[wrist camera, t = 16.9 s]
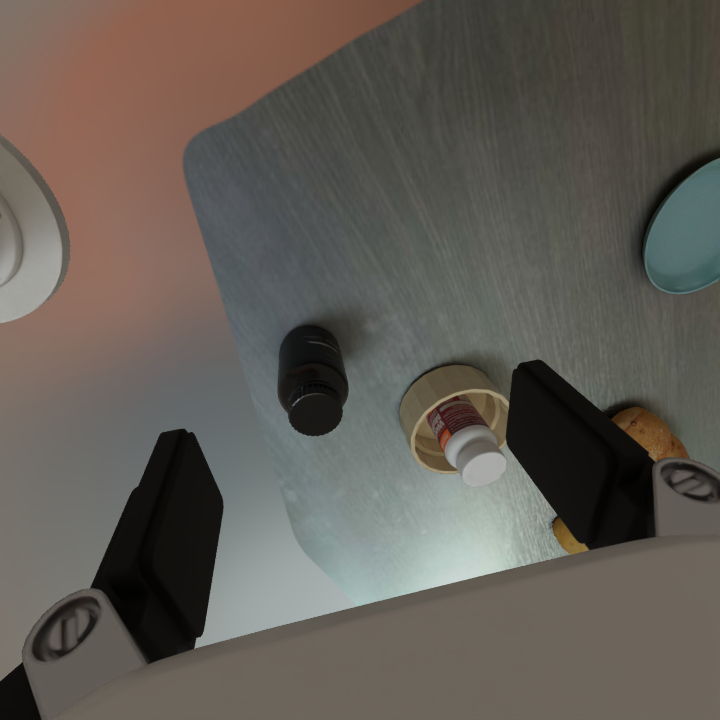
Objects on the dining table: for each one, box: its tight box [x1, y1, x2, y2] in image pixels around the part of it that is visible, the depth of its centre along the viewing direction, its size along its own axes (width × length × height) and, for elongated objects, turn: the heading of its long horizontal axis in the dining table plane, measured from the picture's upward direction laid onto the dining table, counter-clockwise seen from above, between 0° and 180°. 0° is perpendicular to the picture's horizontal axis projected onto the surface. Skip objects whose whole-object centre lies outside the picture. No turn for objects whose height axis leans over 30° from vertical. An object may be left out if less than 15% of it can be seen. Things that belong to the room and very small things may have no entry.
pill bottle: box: [426, 394, 507, 487], centre depth 46 cm, size 6×6×11 cm
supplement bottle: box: [278, 326, 349, 436], centre depth 39 cm, size 7×7×12 cm
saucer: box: [643, 158, 720, 294], centre depth 43 cm, size 15×15×3 cm
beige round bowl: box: [399, 365, 509, 474], centre depth 49 cm, size 13×13×6 cm
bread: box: [553, 407, 689, 554], centre depth 61 cm, size 32×20×10 cm, turn 9°
